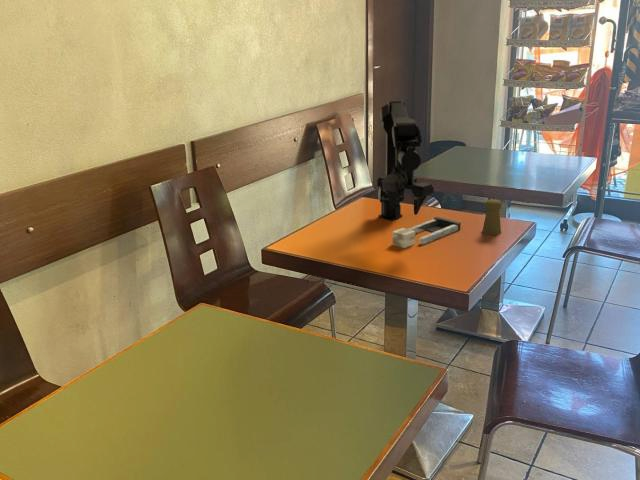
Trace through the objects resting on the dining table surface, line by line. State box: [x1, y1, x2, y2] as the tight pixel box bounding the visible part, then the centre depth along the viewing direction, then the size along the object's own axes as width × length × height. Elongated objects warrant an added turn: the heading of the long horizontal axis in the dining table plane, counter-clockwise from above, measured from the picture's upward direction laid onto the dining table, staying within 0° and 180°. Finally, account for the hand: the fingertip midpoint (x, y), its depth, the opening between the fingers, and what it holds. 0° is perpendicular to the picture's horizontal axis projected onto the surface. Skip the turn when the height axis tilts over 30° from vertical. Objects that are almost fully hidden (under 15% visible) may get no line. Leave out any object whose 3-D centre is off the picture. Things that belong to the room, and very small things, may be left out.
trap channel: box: [407, 216, 462, 246], centre depth 207 cm, size 10×20×2 cm, turn 132°
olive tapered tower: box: [481, 198, 503, 236], centre depth 205 cm, size 6×6×11 cm
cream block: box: [391, 227, 416, 249], centre depth 198 cm, size 5×5×4 cm
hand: (404, 211), depth 196 cm, fingers open, 9 cm apart
